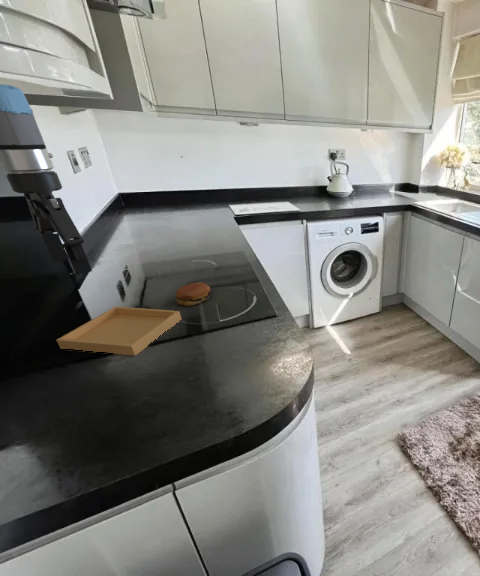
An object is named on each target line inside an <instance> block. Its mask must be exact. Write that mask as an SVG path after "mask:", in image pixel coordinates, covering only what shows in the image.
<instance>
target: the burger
mask: <svg viewBox="0 0 480 576" xmlns="http://www.w3.org/2000/svg"><path fill="white" fill-rule="evenodd" d="M212 292H213V291H212V289H211V287H210V286H209V285H208V284H206V283H205V282H201V281H197V282H192V283H188V284H185V285H183V286H181V287H179V288H178V289H177V290H176V293H175V300H176V304H178V305H179V306H182V307H183V306H184V307H191V306H196V305H198V304H201V303H203V302H205V301H206V300H208V299H209V298H210V297H211V295H212Z"/></svg>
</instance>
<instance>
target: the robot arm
mask: <svg viewBox="0 0 480 576" xmlns="http://www.w3.org/2000/svg"><path fill="white" fill-rule="evenodd" d="M53 158H54V156H53V154H52V153H51V152H49V150H48V149H47V146H46V144H45V141H44V139H43V136H42V133H41V131H40V129H39V125H38V123H37V120H36V118H35V114H34V111H33V109H32V107H31V106H30V104H29V102H28V100H27V97H26V95H25V93H24V91H22V90H21V88H19V87H17V86H16V85H15V86H14V85H10V84H3V83H0V167H1V169H2V170H3V171H4V172H8V173H6V175H5V176H6V179H7V181H8V183H9V185H10V187H11V190H12V191H13V192H15V193H17V194H23V196H24V198H25V200H26V202H27V205H28V209H29V212H30V215H31V218H32V221H33V224H34V229H35V231H37V232H38V233H39V234H40V235H41V237H42V240H43V243H44V244H45V246H46V248H47V250H48V252H49V253H48V254H49V255H50V257H51V259H52V261H53V263H58V262H62V261H66V260H69V262H70V263H71V267H73V271H74V273H75V275H76V276H80V275H83V274H87V273H92V272H93V269H92V267H91V265H90V262H89V260H88V257H87V255H86V252H85V250H84V248H83V244H84V243H85V239H83V237H82V235H81V233H80V232H79V230H78V228H77V227H76V225H75V222H74V221H73V219H72V217H71V216H70V214H69V212H68V210H67V209H66V206H65V204H64V202H63V199H62V198H61V197H55V196H54V194H53V193H54V192H56V191H60V190H62V189H63V185H62V182H61V180H60V178H59V175H58V172H56V171H54V170H52V169H54V168H55V166H54V163H53V162H52V159H53Z"/></svg>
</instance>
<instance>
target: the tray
mask: <svg viewBox="0 0 480 576" xmlns="http://www.w3.org/2000/svg"><path fill="white" fill-rule="evenodd" d="M180 320H181V321H182V315H181V312H180V310H171V309H168V310H167V309H155V308H142V307H141V308H140V307H128V306H127V307H125V306H114V307H112V308H110V309H108V310H106V311H105V312H103V313H101V314H99V315H98V316H96V317H94V318H92V319H91V320H89V321H88V322H85V323H84V324H82V325H80V326H78V327H76V328H75V329H73V330H71V331H69V332H68V333H65V334H64V335H63V336H61V337H59V338H57V339H56V343H57V344H58V346H59V348H60V350H61V349H74V350H83V351H82V352H85V351H93V352H92V353H96V352H108V353H113V354H112V355H120V354H121V356H133V357H136V356H137V355H138V354H139V353H141V352H142V351H144V350H145V349H146V348H147V347H149V346H150V345H151V344H152V343H154V342H155V341H156V340H158V339H159V338H160V337H161V336H163V335H164V334H165V333H166V332H168V331H169V330H171V329H172V328H173V327H174V326H175V325H177V324H178V323H179V322H181V321H180ZM176 323H177V324H176ZM171 327H172V328H171ZM168 329H169V330H168ZM167 330H168V331H167ZM165 331H166V332H165ZM164 332H165V333H164ZM163 333H164V334H163ZM162 334H163V335H162ZM160 335H161V336H160ZM159 336H160V337H159ZM158 337H159V338H158ZM155 339H156V340H155ZM154 340H155V341H154ZM153 341H154V342H153ZM151 342H152V343H151ZM150 343H151V344H150ZM149 344H150V345H149ZM148 345H149V346H148ZM108 353H107V354H108Z"/></svg>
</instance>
